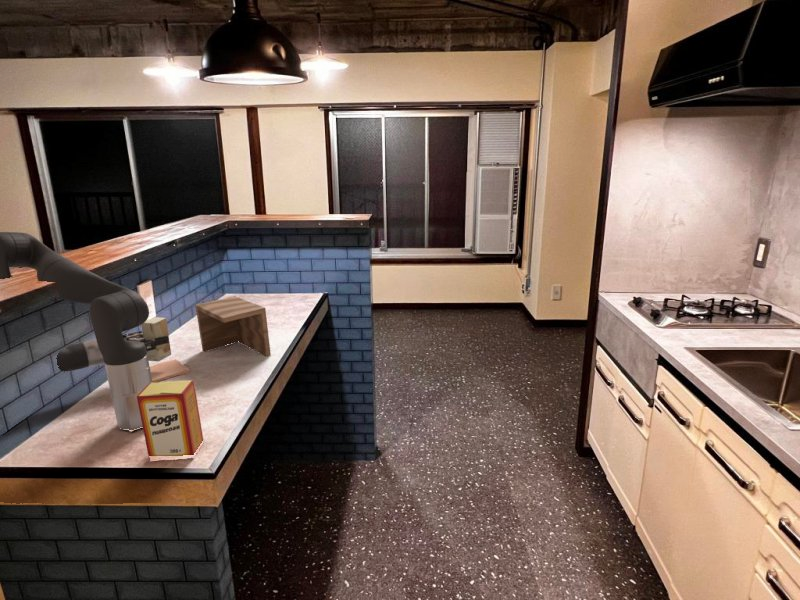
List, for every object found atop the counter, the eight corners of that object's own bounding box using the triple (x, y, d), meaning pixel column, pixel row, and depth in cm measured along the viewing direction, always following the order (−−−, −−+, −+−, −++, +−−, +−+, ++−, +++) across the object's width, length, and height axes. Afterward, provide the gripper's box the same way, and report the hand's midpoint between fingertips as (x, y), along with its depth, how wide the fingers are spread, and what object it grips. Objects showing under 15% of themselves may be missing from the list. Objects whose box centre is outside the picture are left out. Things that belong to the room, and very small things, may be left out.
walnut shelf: (270, 355, 164) (265, 307, 160) (230, 368, 155) (223, 318, 151) (240, 340, 180) (234, 296, 175) (202, 350, 171) (195, 304, 166)
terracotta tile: (189, 371, 154) (189, 369, 153) (148, 384, 146) (148, 381, 146) (175, 361, 162) (175, 359, 162) (136, 372, 154) (135, 370, 154)
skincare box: (159, 362, 149) (152, 323, 146) (146, 361, 150) (139, 323, 147) (172, 354, 155) (166, 317, 152) (160, 353, 156) (154, 316, 153)
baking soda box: (149, 461, 107) (136, 394, 103) (161, 445, 114) (149, 381, 109) (194, 459, 108) (182, 391, 103) (203, 442, 114) (193, 378, 110)
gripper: (107, 344, 135) (170, 329, 146) (94, 332, 146) (154, 319, 156) (112, 369, 137) (174, 353, 148) (99, 355, 148) (158, 341, 158)
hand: (163, 336), depth 152 cm, fingers closed on skincare box, 7 cm apart
